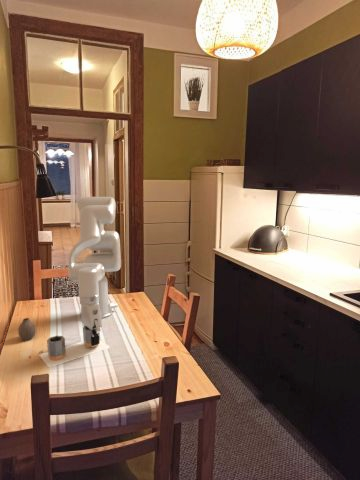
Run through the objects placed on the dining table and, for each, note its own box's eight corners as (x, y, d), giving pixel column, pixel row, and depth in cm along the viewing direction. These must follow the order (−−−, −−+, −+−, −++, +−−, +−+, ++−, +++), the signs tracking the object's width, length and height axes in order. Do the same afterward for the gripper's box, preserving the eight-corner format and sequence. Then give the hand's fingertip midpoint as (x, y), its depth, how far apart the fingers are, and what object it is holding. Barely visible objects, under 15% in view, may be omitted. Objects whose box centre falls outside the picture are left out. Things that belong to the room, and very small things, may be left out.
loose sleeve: (95, 338, 144) (94, 322, 143) (101, 344, 139) (100, 327, 138) (82, 342, 140) (81, 326, 139) (87, 348, 136) (86, 331, 135)
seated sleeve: (62, 351, 136) (61, 334, 134) (67, 357, 131) (66, 339, 130) (47, 355, 132) (45, 338, 131) (51, 362, 128) (50, 344, 126)
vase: (39, 335, 153) (38, 317, 151) (28, 342, 146) (26, 323, 145) (27, 333, 155) (25, 315, 154) (15, 340, 149) (13, 321, 147)
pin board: (97, 340, 148) (96, 323, 147) (110, 351, 138) (109, 332, 137) (39, 358, 134) (37, 339, 132) (48, 371, 124) (47, 351, 123)
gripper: (107, 302, 132) (110, 347, 135) (89, 291, 146) (92, 332, 149) (89, 307, 128) (91, 353, 131) (72, 295, 141) (75, 337, 144)
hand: (91, 341), depth 140 cm, fingers closed on loose sleeve, 5 cm apart
